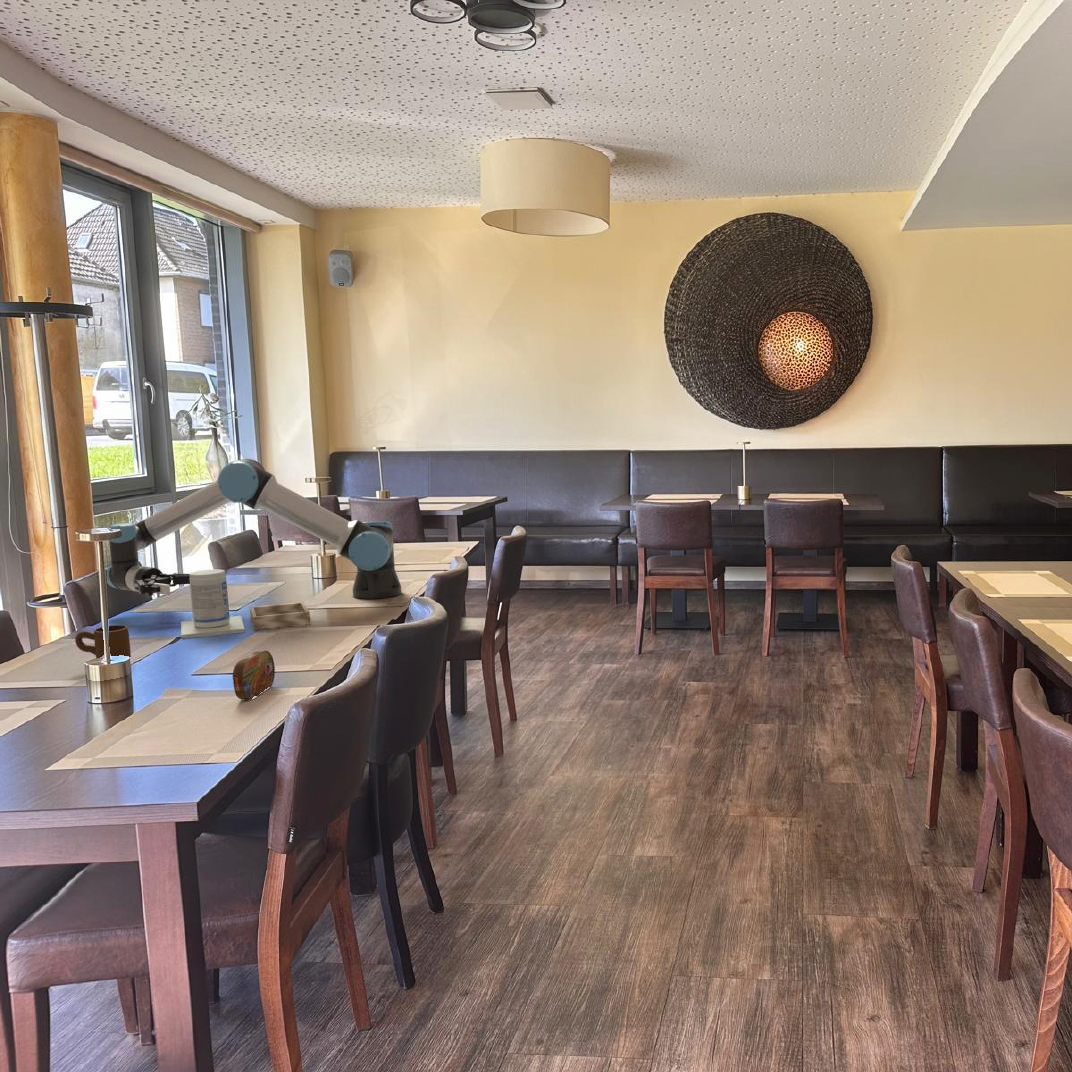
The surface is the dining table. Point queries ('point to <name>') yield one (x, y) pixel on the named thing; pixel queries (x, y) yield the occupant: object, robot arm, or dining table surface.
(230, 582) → the dining table surface
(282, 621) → the holder frame
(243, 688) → the tin
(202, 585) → the supplement tub
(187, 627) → the board
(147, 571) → the robot arm
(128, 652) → the mug
